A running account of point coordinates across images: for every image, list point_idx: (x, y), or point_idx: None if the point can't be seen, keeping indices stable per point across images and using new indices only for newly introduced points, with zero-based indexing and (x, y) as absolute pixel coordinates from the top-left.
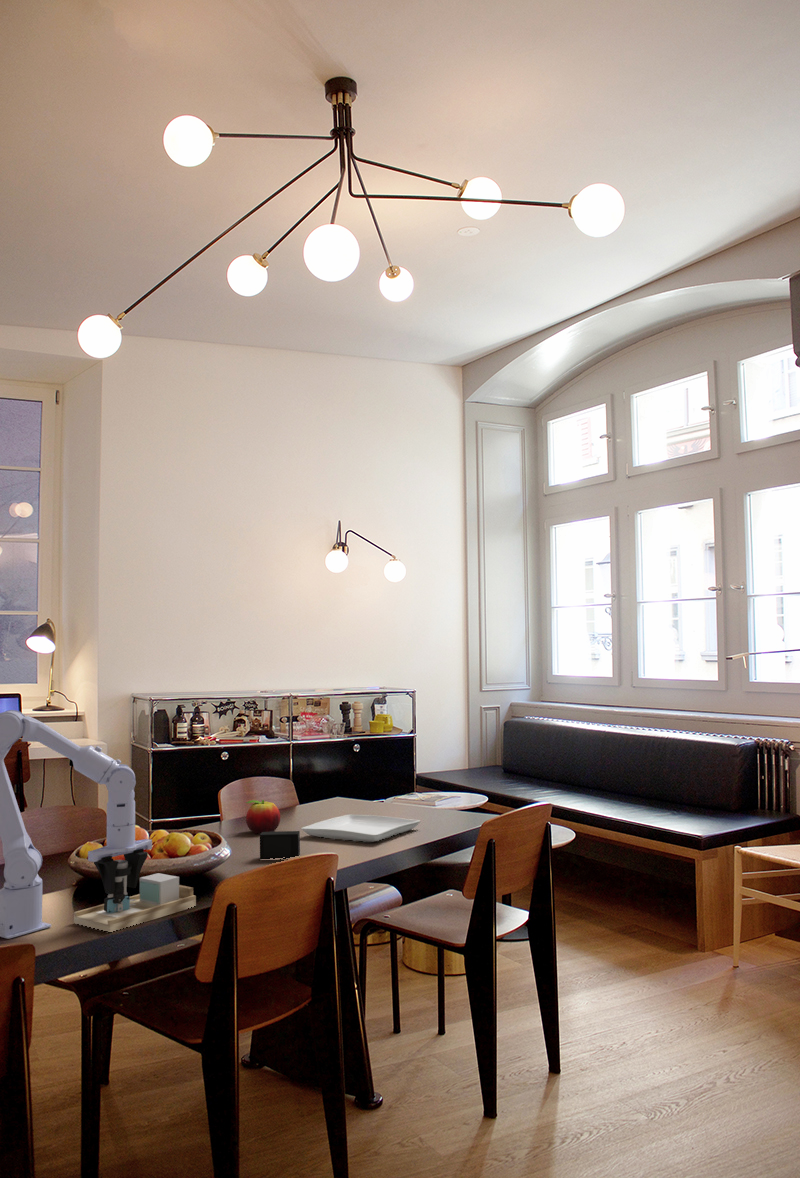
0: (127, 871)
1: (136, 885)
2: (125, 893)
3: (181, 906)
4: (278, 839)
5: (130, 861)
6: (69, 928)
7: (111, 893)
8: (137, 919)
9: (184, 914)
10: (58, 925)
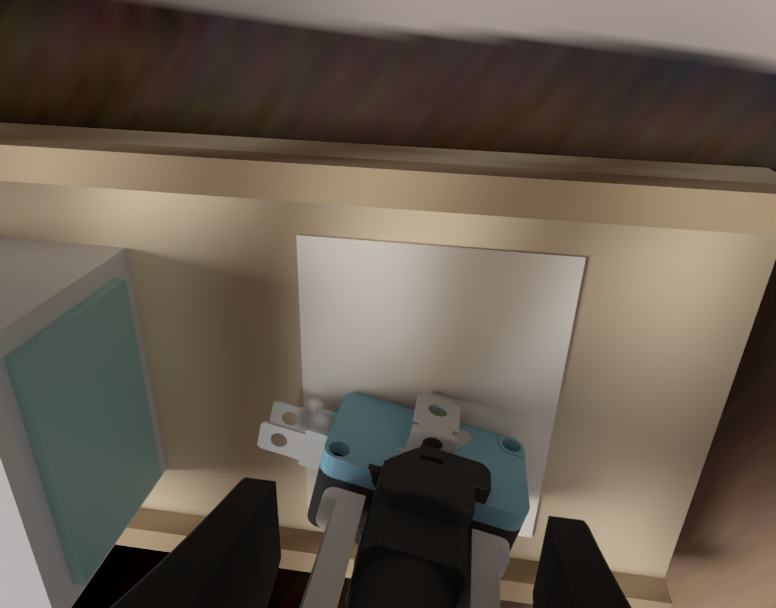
0: None
1: (236, 488)
2: (345, 501)
3: None
4: None
5: None
6: (746, 514)
7: (587, 525)
8: (462, 160)
9: (38, 9)
10: (708, 602)
